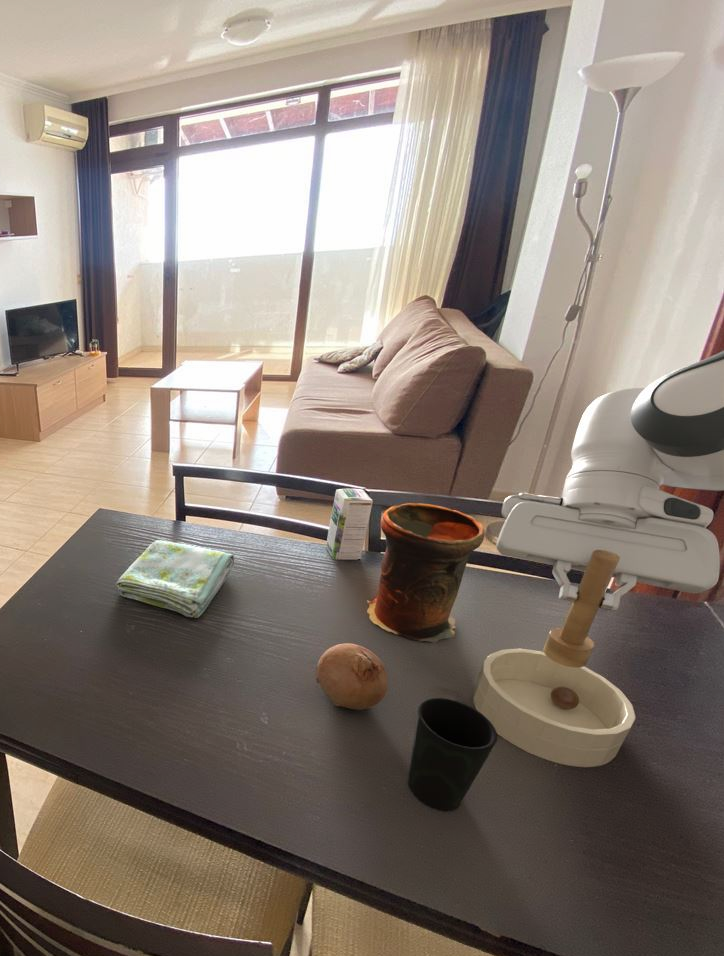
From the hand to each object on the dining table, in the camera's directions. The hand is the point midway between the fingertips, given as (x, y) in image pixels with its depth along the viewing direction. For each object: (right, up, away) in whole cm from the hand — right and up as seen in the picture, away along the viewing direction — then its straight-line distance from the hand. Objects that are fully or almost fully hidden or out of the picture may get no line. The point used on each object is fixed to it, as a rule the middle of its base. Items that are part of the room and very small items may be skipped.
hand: (587, 604), depth 68 cm
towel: (-43, -4, +44) cm, 62 cm away
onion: (-23, -17, +14) cm, 32 cm away
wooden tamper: (+1, -8, +4) cm, 9 cm away
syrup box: (-5, +1, +50) cm, 50 cm away
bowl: (+1, -18, +8) cm, 20 cm away
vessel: (-3, -8, +30) cm, 31 cm away
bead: (+5, -15, +8) cm, 18 cm away
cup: (-20, -24, 0) cm, 31 cm away
